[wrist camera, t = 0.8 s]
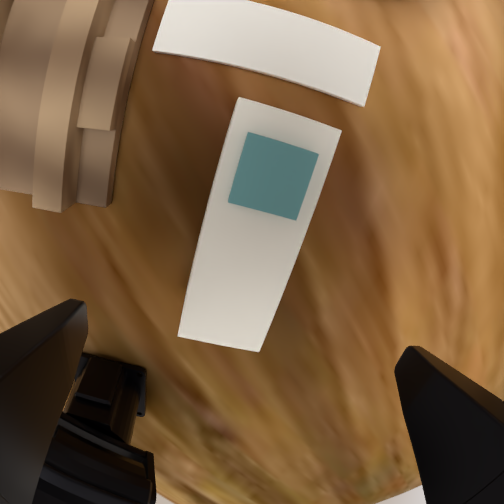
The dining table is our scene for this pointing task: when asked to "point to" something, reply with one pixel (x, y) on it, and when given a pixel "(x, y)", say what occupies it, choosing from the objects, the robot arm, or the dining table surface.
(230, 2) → the strip
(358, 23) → the dining table surface
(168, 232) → the dining table surface
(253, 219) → the white box
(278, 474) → the dining table surface
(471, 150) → the dining table surface
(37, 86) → the cradle
